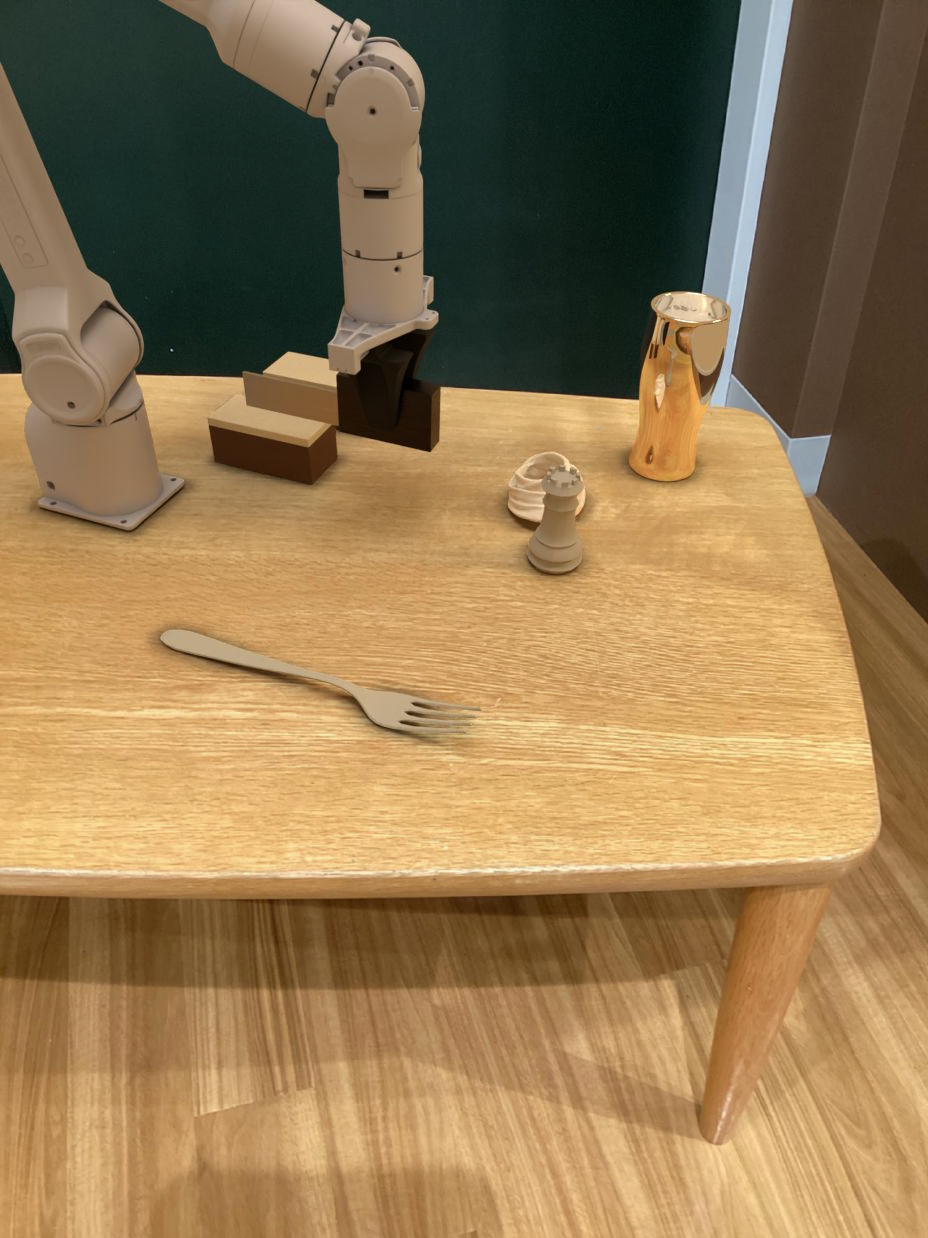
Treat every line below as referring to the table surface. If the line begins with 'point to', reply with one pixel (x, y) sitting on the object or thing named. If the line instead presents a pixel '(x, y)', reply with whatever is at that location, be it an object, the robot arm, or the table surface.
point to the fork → (376, 704)
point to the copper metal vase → (677, 380)
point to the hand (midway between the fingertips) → (388, 420)
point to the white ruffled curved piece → (536, 486)
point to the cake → (271, 441)
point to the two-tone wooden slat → (352, 407)
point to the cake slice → (304, 371)
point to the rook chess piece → (558, 523)
